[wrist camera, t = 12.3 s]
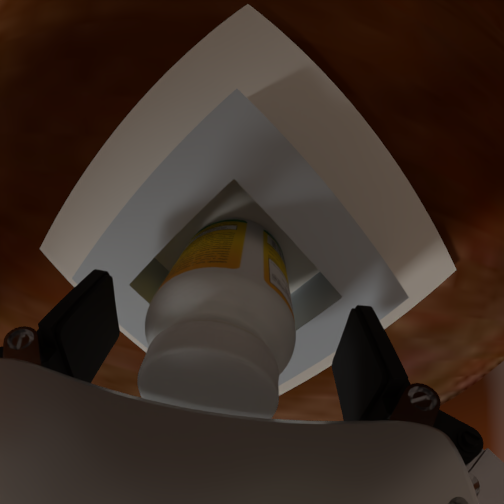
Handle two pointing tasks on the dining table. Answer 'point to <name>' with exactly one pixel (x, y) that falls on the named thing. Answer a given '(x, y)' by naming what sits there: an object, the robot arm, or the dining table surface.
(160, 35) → the dining table surface
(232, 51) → the socket holder
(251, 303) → the supplement bottle
